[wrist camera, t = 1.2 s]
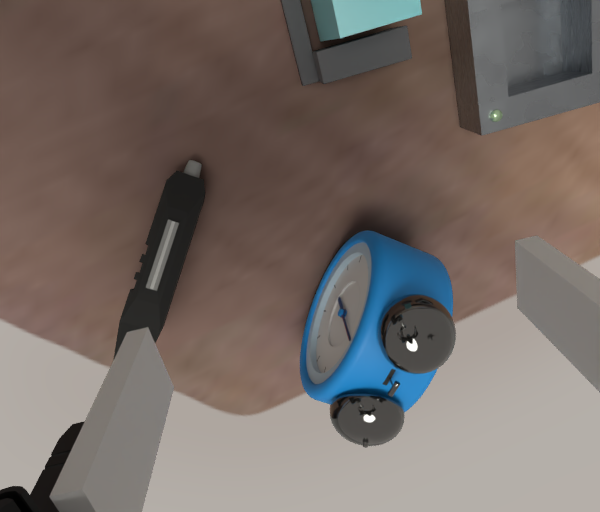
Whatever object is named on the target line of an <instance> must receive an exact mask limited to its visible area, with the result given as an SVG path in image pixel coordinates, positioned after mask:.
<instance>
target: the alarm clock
mask: <svg viewBox="0 0 600 512" xmlns="http://www.w3.org/2000/svg"><path fill="white" fill-rule="evenodd" d="M452 312H453V293H452V286H451V281H450V278H449V275H448V272H447V270H446V268H445V267H444V265H443V264H442V262H441V261H440V260H439V259H437V258H436V257H434V256H433V255H430V254H428V253H426V252H423V251H421V250H418V249H416V248H413V247H411V246H408V245H406V244H404V243H401V242H399V241H396V240H394V239H391V238H389V237H386V236H384V235H382V234H379V233H377V232H374V231H369V230H366V231H362V232H359V233H357V234H355V235H354V236H353V237H351V238H350V239H349V240H348V241H347V242H346V243H345V244H344V245H343V246H342V247H341V248H340V250H339V251H338V252H337V254H336V255H335V257H334V258H333V260H332V261H331V263H330V265H329V266H328V268H327V270H326V272H325V274H324V276H323V278H322V280H321V282H320V284H319V287H318V289H317V292H316V294H315V297H314V299H313V302H312V305H311V308H310V311H309V314H308V318H307V321H306V325H305V329H304V334H303V339H302V345H301V353H300V375H301V380H302V384H303V387H304V389H305V391H306V392H307V394H308V395H309V396H310V397H311V398H313V399H315V400H318V401H321V402H324V403H328V404H331V405H330V418H331V421H332V424H333V426H334V427H335V429H336V431H337V432H338V433H339V434H340V435H341V436H342V437H344V438H345V439H347V440H349V441H350V442H353V443H355V444H359V445H363V447H368V446H376V445H381V444H384V443H386V442H388V441H390V440H392V439H393V438H394V437H396V436H397V434H398V433H399V432H400V430H401V429H402V426H403V423H404V412H406V411H407V410H408V409H409V408H410V407H412V406H413V405H414V404H415V403H416V401H417V400H418V399H419V398H420V397H421V396H422V394H423V393H424V391H425V390H426V389H427V387H428V385H429V384H430V382H431V380H432V378H433V377H434V375H435V373H436V371H437V369H438V368H439V367H440V366H442V365H443V364H444V363H445V362H446V361H447V360H448V358H449V356H450V355H451V353H452V351H453V348H454V345H455V340H456V330H455V324H454V321H453V318H452Z"/></svg>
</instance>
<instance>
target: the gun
mask: <svg viewBox="0 0 600 512" xmlns="http://www.w3.org/2000/svg"><path fill="white" fill-rule="evenodd" d="M201 166H202V165H201V164H200V163H198V162H196V161H192V160H189V161H188V163H187V165H186V168H185V170H184V172H183V173H182V172H179V171H176V172H175V173H174V174H173V175H172V176H171V177H170V178H169V179H168V180H167V181H166V184H165V187H164V190H163V193H162V196H161V199H160V202H159V205H158V208H157V211H156V214H155V217H154V220H153V223H152V226H151V229H150V232H149V235H148V238H147V241H146V244H147V245H148V248H147V252H146V255H144V254H142V256H141V259H140V262H142V263H143V264H142V267H141V270H140V273H139V272H136V274H135V277H134V279H136V280H137V282H136V285H135V288H134V289H130V292H129V295H128V298H127V301H126V304H125V307H124V310H123V313H122V316H121V319H120V323H119V329H118V335H117V342H116V348H115V354H114V359H115V357H116V354H117V352H118V350H119V348H120V346H121V344H122V342H123V340H124V338H125V335H126V333H127V332H130V331H134V330H138V329H142V328H147V327H148V328H149V331H150V333H151V335H152V338H153V340H154V342H156V340H157V338H158V336H159V334H160V333H161V331H162V329H163V326H164V323H165V320H166V317H167V314H168V311H169V308H170V305H171V302H172V299H173V295H174V292H175V289H176V286H177V283H178V280H179V277H180V274H181V271H182V268H183V264H184V261H185V258H186V255H187V252H188V249H189V246H190V243H191V240H192V237H193V233H194V230H195V227H196V224H197V221H198V218H199V215H200V212H201V209H202V206H203V202H204V197H205V188H204V180H203V179H200V178H199V177H200V171H201Z"/></svg>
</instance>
